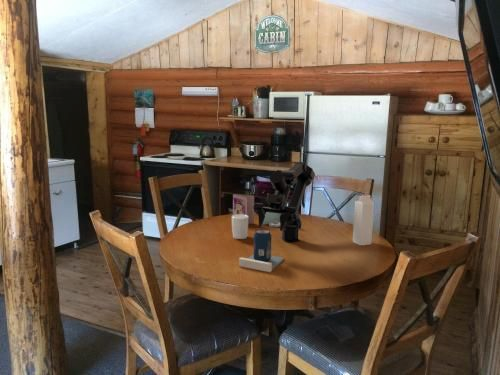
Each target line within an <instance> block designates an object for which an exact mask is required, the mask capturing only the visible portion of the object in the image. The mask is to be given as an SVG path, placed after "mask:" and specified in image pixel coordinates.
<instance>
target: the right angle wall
mask: <svg viewBox="0 0 500 375" xmlns="http://www.w3.org/2000/svg"><path fill="white" fill-rule="evenodd" d="M280 215H281V214H278V213H271V212H266V214H265V219H264V221H263V224H262V226H263V225H268V226H269V228H278V229H279V228H280V227H281V225H280Z"/></svg>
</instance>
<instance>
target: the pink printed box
mask: <svg viewBox="0 0 500 375" xmlns="http://www.w3.org/2000/svg"><path fill="white" fill-rule="evenodd" d="M254 204H255V195H250V194H249V195H247V194H235V193H233V194H232V216H233V215H236V214H243V215H247V216H248V224H250V225H251V224H252V225H253V224H255V211H254V209H253V206H254Z"/></svg>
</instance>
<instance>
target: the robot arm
mask: <svg viewBox="0 0 500 375" xmlns="http://www.w3.org/2000/svg"><path fill="white" fill-rule="evenodd" d="M314 178H315V171H314V170H313V168H312V167H310V166H309V165H308V163H307V162H302V161H301V162H300V161H297V162H295V163H294V165H292V166H291V167H290V168H289V169H287V170H286V169H284V170H281V169H276V172H273V173H272V174H271V175H270V177H269V181H270V183H271V185H272V188H273V190H275V191H274V194H271V193H267V196H266V200H265V202H266V203H268V204H267V205H268V206H267V207H266V206H265V204H264V203H261V202H254V206H253V209H254V213H255V214H256V215H257V216H258V228H259V229H262V226H263V225H262V224H263V221H264V219H265V214H266V212H271V213H278V214H281V215H280V225H281V226H280V227H279V231H280V232H281V239H282V240H283V241H285V242H286V243H291V242H292V243H293V242H300V241H301V240H300V238H299V229H302V225H303V224H302V223H303V222H302V220H301V217H300V212H299V209H300V205H301V203H302V200H303V198H304V194H305V191H306V189H307V187H308V186H310V185H311V184H312V181H313V180H314ZM295 184H296V185H295ZM294 185H295V188H294V190H293V192H292V196H291V198H290V201H289V204H288V202H287V201H288V197H289V195H291V188H290V186H294ZM287 204H288V205H287Z"/></svg>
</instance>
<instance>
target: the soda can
mask: <svg viewBox="0 0 500 375" xmlns="http://www.w3.org/2000/svg"><path fill="white" fill-rule="evenodd" d="M253 254H254V256H253V257H254V259H255V260H258V261H263V262H268V261H269V260H270V259H271V256H272V234H271V231H270V230H269V229H267V228H266V229H265V228H259V229H256V230H255V232H254V234H253Z"/></svg>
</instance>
